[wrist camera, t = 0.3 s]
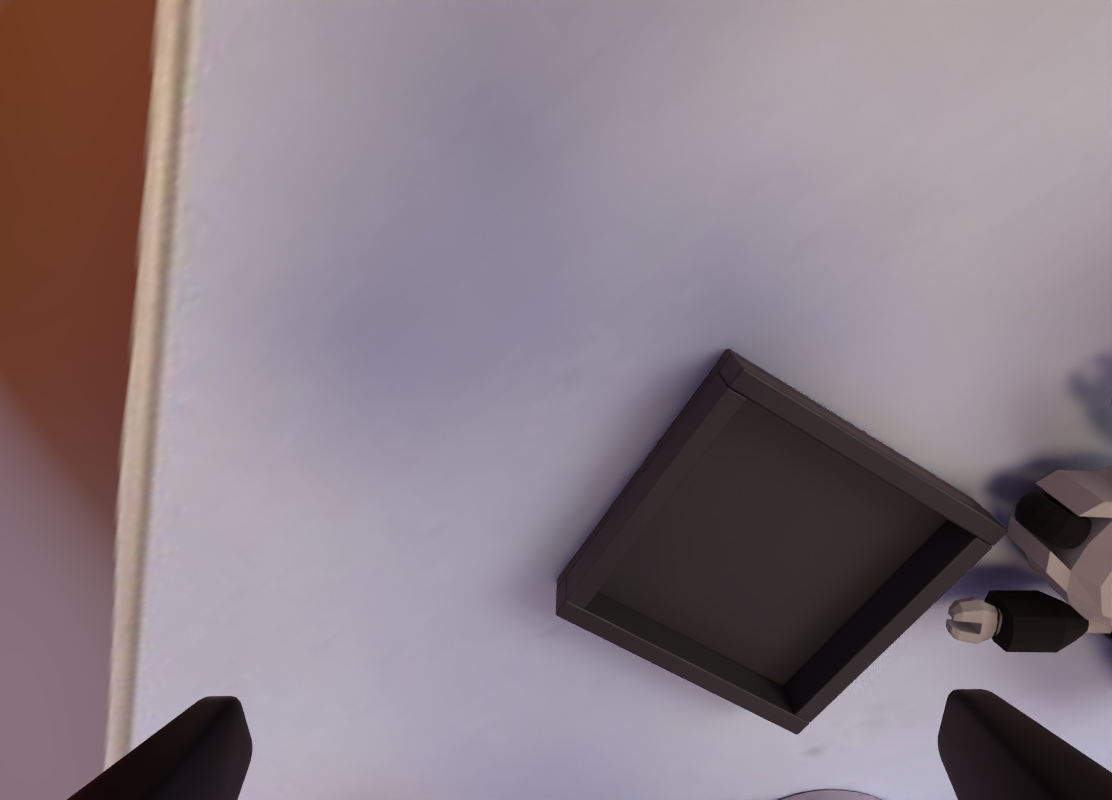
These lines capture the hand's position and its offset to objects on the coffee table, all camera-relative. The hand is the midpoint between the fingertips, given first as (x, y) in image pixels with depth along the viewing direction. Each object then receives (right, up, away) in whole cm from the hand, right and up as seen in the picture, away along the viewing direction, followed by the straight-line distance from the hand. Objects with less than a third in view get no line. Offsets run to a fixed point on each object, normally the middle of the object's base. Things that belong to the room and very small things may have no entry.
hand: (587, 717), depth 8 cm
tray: (+8, -2, +17) cm, 19 cm away
